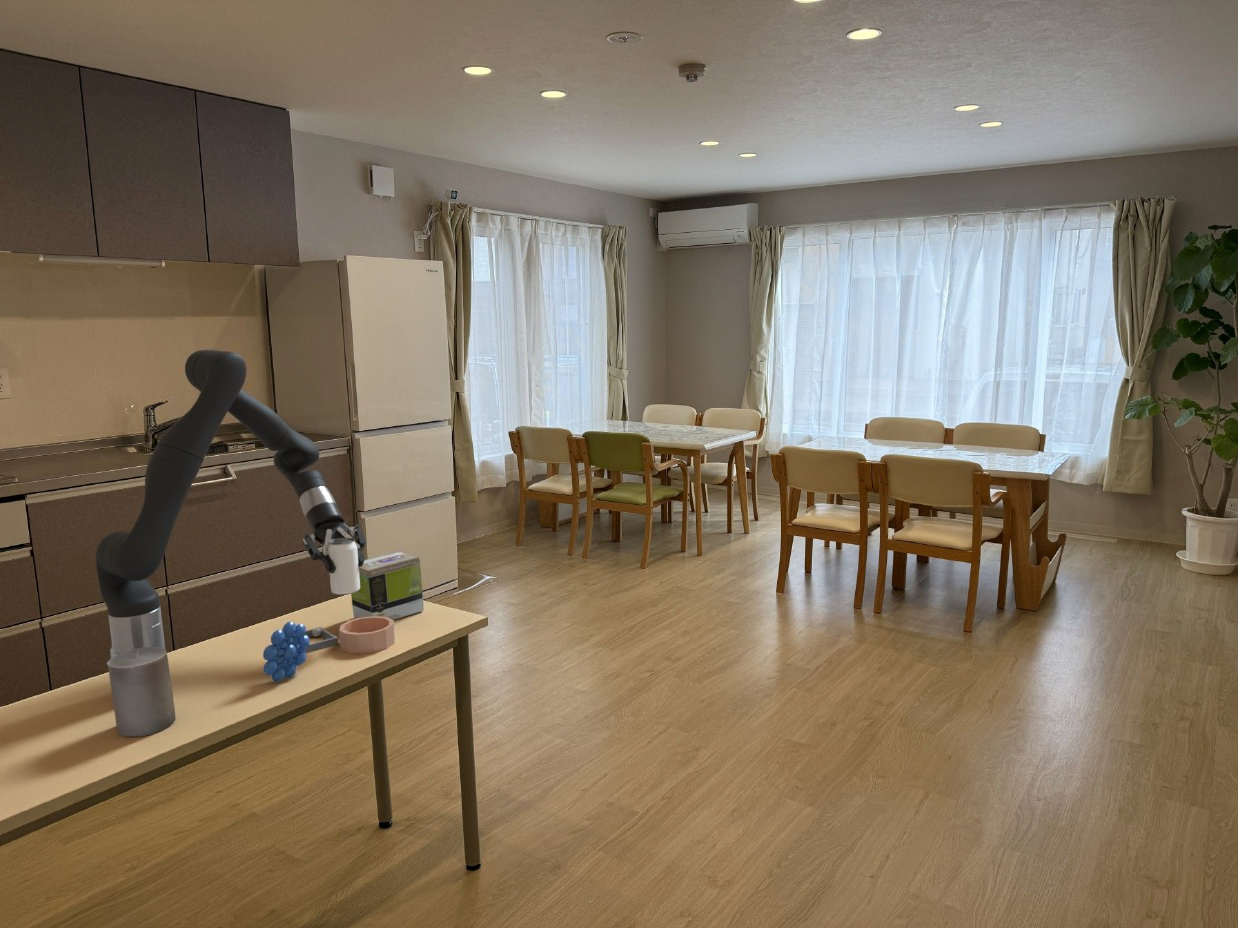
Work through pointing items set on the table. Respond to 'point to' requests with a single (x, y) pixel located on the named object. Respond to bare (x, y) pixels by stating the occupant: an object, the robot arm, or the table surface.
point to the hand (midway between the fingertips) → (347, 567)
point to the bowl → (367, 634)
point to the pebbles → (316, 632)
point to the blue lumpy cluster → (286, 651)
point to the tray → (322, 644)
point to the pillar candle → (141, 691)
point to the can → (344, 566)
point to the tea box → (389, 587)
